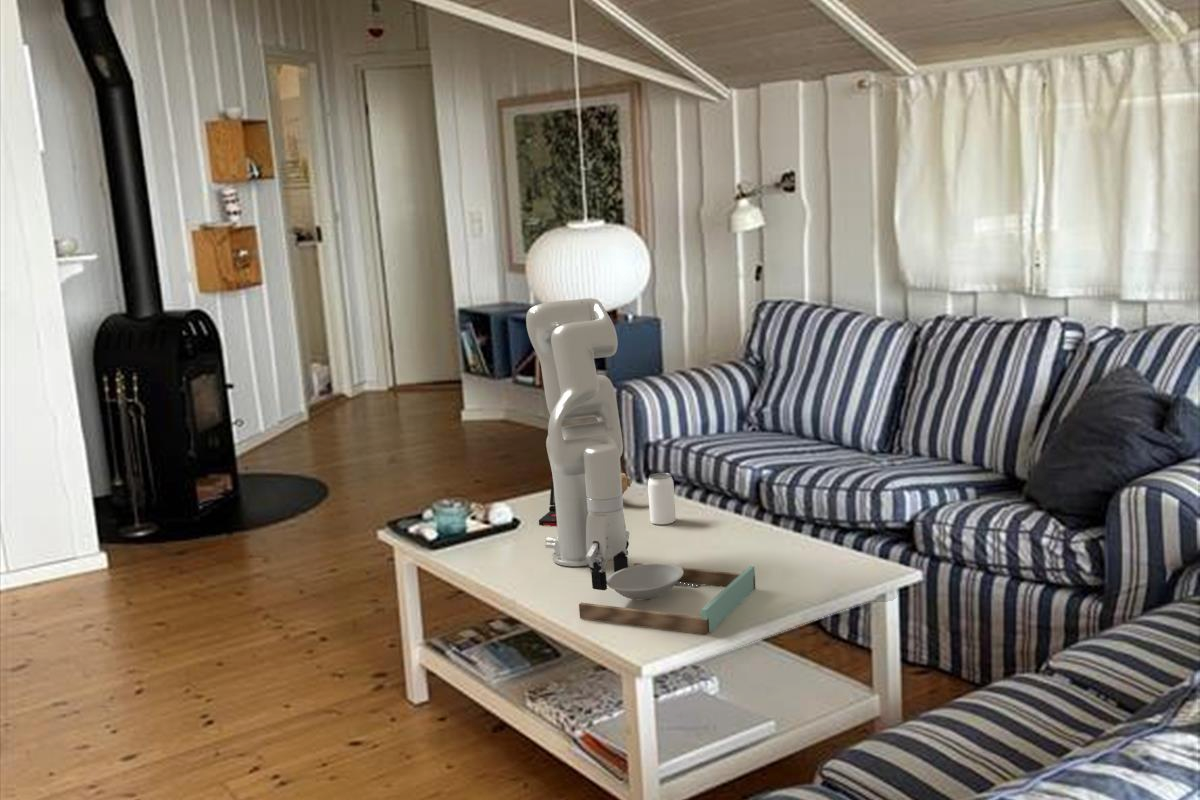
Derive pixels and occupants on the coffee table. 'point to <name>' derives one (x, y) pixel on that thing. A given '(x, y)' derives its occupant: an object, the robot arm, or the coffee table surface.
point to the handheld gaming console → (550, 516)
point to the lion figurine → (625, 482)
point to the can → (661, 499)
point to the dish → (645, 580)
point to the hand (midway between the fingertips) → (610, 581)
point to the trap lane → (711, 615)
